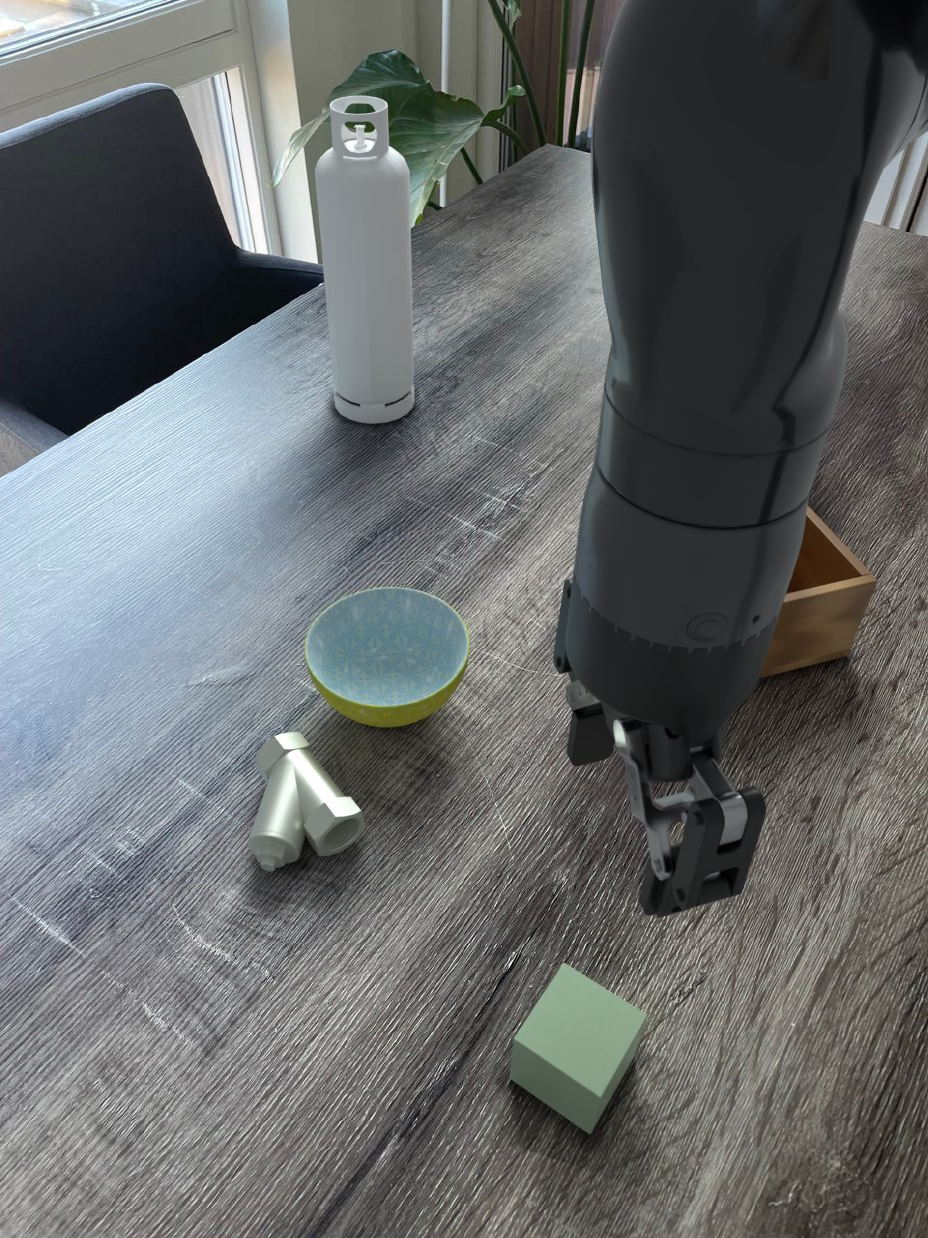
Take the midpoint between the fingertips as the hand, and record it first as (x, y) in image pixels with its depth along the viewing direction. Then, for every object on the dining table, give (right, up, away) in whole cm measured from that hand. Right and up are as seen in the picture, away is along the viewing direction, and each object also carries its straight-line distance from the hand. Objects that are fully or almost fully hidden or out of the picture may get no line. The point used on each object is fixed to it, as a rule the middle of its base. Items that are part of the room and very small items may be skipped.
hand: (623, 826), depth 47 cm
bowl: (-13, +4, +26) cm, 29 cm away
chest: (+14, +9, +32) cm, 36 cm away
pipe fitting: (-19, -4, +18) cm, 26 cm away
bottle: (-17, +32, +54) cm, 65 cm away
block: (-2, -14, +7) cm, 16 cm away
